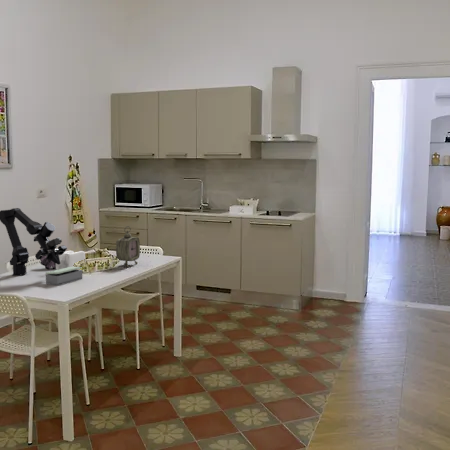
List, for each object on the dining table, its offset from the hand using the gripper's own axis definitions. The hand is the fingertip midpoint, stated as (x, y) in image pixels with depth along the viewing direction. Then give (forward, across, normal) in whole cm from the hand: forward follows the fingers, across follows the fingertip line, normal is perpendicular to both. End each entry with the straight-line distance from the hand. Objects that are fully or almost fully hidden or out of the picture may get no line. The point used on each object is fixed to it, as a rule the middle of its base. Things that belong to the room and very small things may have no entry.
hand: (59, 263), depth 296 cm
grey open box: (+9, 0, +4) cm, 10 cm away
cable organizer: (-3, +22, +17) cm, 28 cm away
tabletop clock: (+11, +51, +3) cm, 53 cm away
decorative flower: (-15, +23, +29) cm, 40 cm away
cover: (+5, 0, 0) cm, 5 cm away
